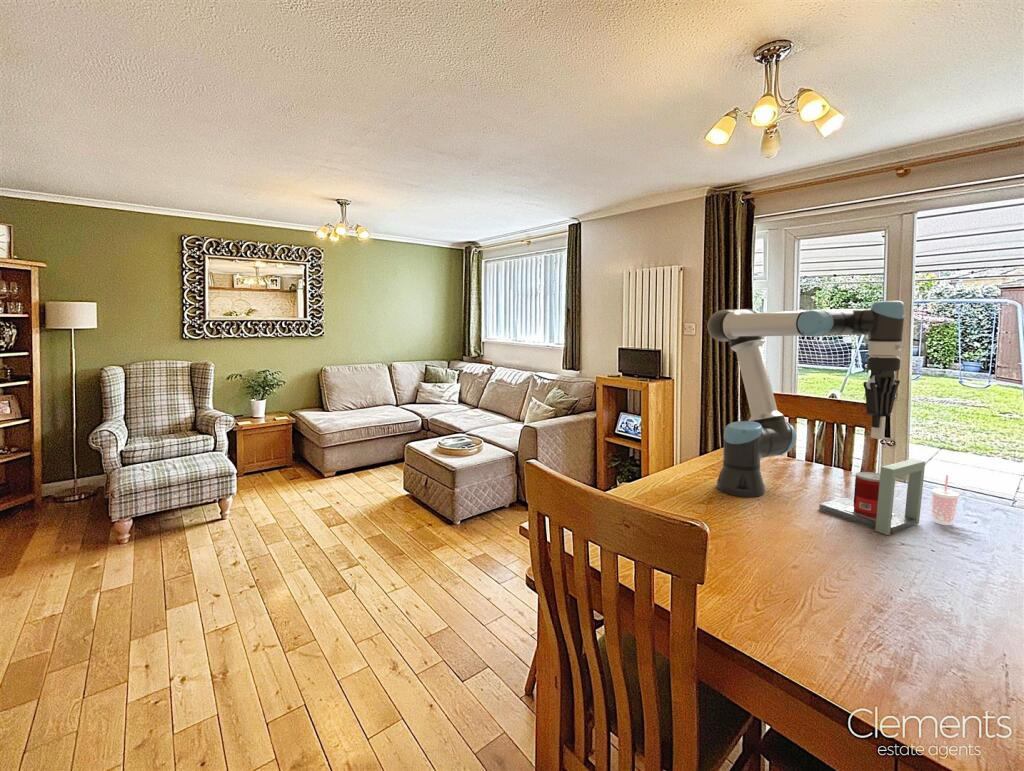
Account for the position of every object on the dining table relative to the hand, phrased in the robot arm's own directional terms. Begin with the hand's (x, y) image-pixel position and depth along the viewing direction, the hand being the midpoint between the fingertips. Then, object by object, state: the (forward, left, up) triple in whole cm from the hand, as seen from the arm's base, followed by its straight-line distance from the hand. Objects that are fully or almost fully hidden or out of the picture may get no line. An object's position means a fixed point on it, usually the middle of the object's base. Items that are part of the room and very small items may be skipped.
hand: (877, 438), depth 143 cm
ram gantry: (+7, 0, -24) cm, 25 cm away
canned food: (0, 0, -23) cm, 23 cm away
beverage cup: (+11, +16, -25) cm, 31 cm away
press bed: (-1, 0, -25) cm, 25 cm away
